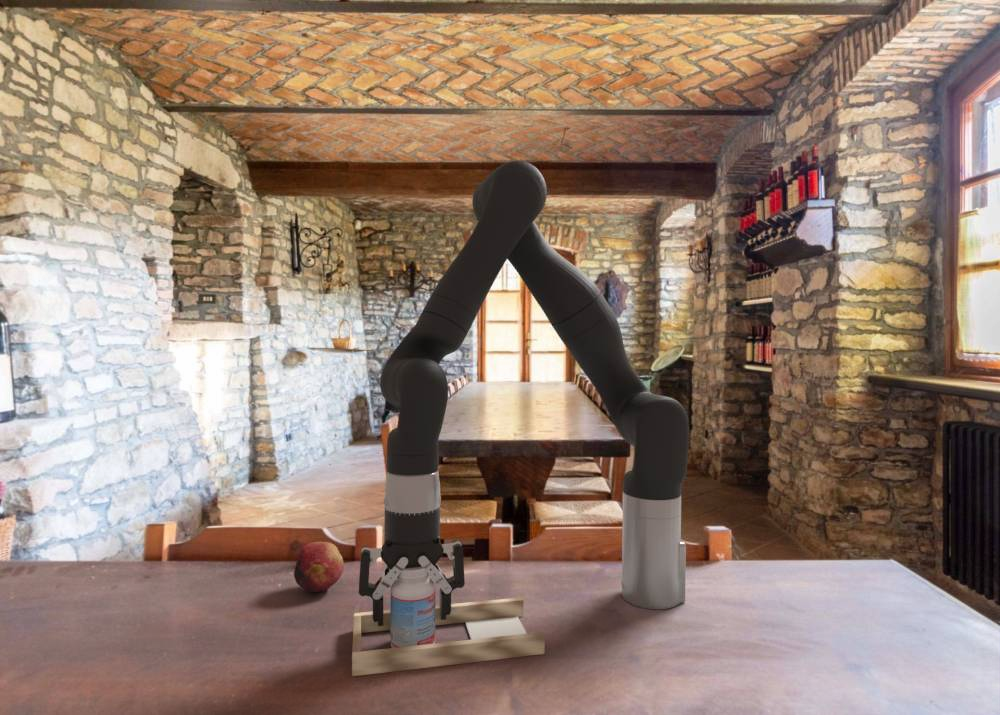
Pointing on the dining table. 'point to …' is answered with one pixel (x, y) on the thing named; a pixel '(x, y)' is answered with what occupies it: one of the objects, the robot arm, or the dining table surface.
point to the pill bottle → (412, 608)
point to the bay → (448, 650)
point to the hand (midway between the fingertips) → (411, 620)
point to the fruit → (318, 566)
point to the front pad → (495, 628)
